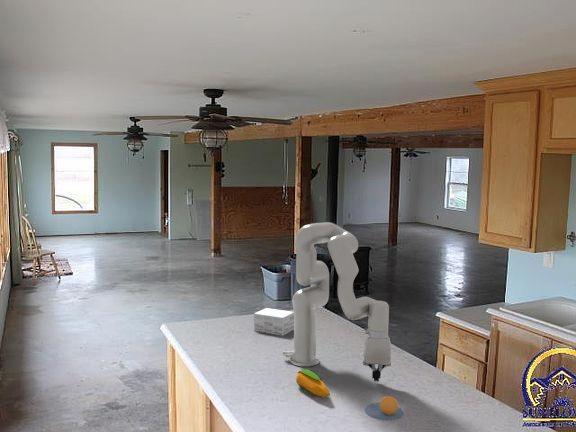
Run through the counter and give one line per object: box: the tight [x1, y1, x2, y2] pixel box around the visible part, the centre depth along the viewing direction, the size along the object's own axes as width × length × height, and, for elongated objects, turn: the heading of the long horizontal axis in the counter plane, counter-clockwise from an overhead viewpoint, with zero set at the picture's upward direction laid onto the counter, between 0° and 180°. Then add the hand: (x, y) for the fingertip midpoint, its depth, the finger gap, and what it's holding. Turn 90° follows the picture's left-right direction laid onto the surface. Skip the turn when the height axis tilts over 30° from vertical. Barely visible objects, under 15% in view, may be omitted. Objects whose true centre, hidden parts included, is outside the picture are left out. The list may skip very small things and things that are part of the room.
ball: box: [379, 395, 399, 415], centre depth 184 cm, size 6×6×6 cm
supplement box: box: [253, 307, 294, 337], centre depth 277 cm, size 17×13×9 cm
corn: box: [295, 369, 331, 398], centre depth 200 cm, size 7×8×20 cm
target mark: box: [364, 402, 404, 421], centre depth 187 cm, size 13×13×1 cm
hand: (376, 379), depth 210 cm, fingers closed
